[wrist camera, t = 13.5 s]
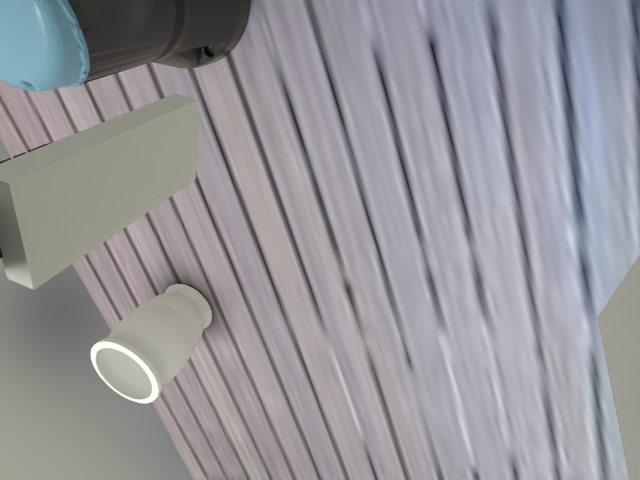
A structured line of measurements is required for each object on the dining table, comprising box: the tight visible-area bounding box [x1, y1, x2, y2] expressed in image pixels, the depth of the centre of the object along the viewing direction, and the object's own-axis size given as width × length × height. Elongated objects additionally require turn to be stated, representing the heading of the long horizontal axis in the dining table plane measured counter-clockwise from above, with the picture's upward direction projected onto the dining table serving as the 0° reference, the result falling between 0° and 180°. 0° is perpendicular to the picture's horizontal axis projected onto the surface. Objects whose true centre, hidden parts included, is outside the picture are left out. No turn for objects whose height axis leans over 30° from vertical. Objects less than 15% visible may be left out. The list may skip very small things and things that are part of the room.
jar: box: [91, 284, 212, 403], centre depth 67 cm, size 11×10×15 cm
